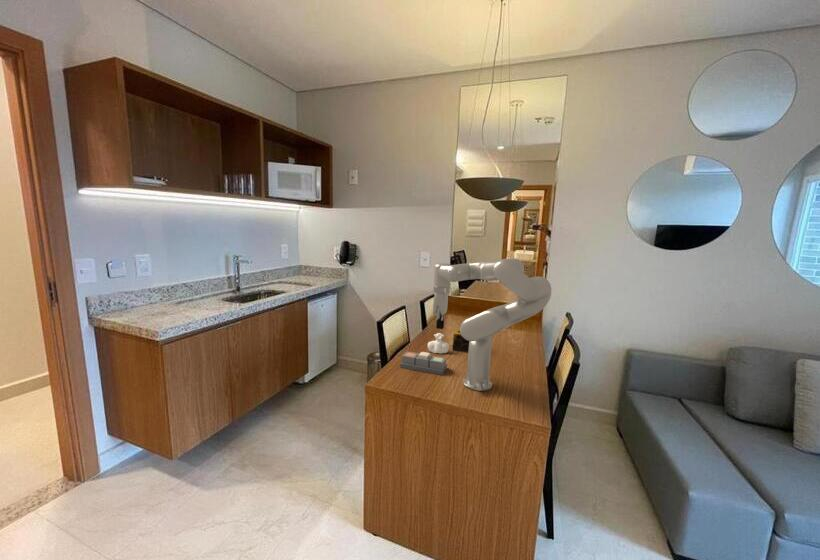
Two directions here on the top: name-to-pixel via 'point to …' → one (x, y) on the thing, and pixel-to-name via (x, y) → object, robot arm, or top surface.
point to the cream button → (424, 355)
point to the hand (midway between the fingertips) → (439, 328)
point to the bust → (438, 345)
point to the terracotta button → (410, 354)
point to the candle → (459, 342)
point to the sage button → (438, 359)
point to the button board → (423, 364)
